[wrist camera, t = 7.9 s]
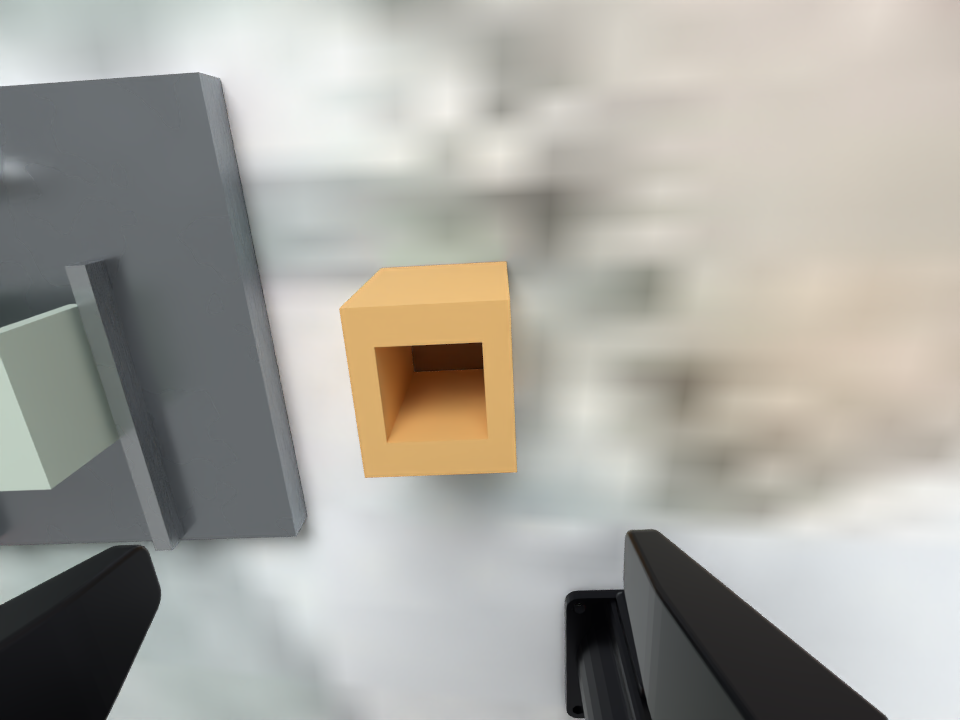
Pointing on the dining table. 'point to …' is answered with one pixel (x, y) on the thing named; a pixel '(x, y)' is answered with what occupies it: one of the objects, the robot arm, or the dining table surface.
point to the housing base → (147, 310)
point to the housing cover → (49, 401)
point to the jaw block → (432, 394)
